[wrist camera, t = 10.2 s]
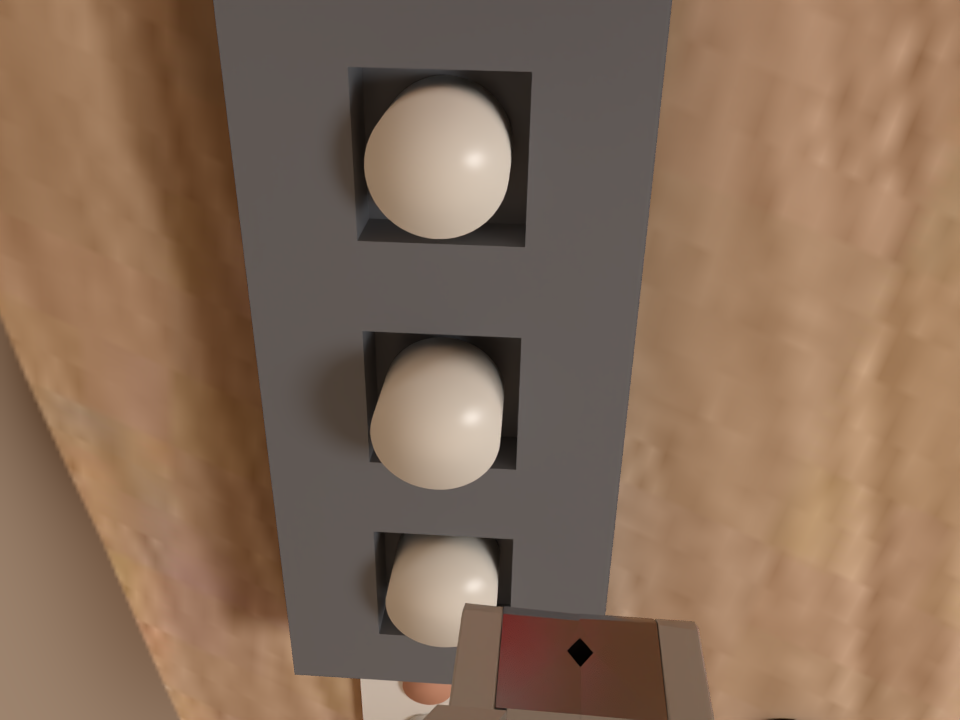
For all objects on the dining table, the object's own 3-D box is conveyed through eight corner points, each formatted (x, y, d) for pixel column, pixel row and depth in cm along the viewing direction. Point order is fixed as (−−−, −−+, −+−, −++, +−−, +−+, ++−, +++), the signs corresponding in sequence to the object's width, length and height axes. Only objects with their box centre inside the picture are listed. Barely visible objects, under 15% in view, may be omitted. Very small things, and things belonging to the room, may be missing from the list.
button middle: (382, 334, 29) (367, 376, 26) (506, 340, 28) (502, 383, 26) (387, 438, 31) (373, 486, 28) (503, 443, 30) (499, 493, 28)
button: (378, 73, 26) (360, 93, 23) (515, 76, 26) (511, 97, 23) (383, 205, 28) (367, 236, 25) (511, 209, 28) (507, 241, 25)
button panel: (243, -45, 26) (208, -37, 23) (661, -37, 25) (675, -27, 22) (312, 619, 38) (294, 674, 35) (593, 636, 37) (596, 693, 35)
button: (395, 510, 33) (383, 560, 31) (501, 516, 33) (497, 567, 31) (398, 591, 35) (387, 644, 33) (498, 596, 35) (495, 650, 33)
